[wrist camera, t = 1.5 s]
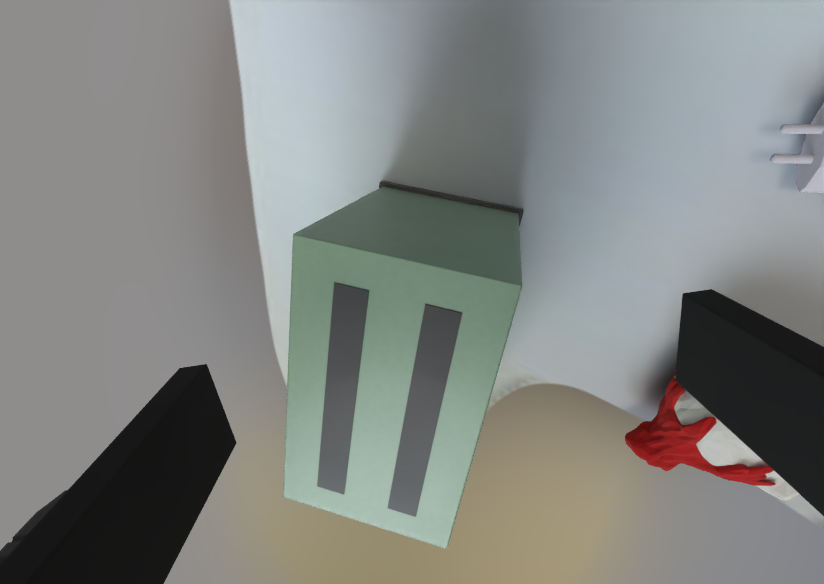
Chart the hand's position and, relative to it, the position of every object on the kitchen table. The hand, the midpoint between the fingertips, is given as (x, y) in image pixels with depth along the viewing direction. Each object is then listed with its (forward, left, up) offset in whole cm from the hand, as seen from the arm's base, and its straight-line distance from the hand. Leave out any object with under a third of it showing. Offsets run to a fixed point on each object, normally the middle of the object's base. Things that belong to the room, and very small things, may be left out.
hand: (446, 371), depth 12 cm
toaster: (+7, +6, -24) cm, 26 cm away
